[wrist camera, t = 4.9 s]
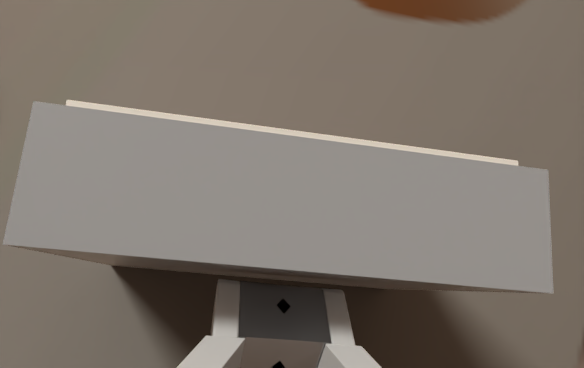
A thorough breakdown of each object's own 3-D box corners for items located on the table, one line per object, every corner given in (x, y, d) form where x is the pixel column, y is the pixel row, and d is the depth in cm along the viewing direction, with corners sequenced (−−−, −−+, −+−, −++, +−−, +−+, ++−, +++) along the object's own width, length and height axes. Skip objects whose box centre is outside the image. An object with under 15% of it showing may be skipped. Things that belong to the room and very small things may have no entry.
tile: (110, 265, 16) (2, 244, 8) (123, 188, 17) (35, 87, 8) (385, 288, 18) (553, 293, 9) (387, 217, 18) (548, 158, 10)
